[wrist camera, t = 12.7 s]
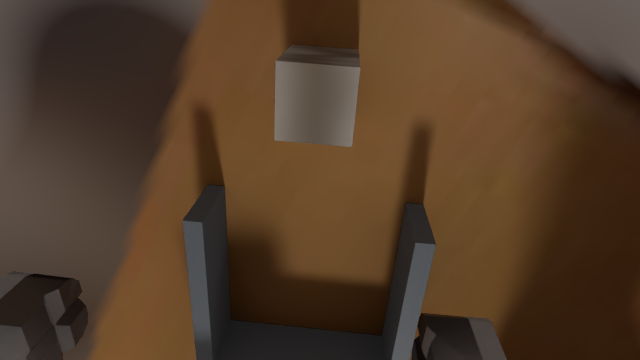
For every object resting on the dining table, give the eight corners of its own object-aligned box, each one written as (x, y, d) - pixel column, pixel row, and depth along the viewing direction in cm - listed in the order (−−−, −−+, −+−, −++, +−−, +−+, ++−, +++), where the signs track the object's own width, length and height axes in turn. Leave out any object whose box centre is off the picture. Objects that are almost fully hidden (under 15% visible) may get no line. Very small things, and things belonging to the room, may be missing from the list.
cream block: (358, 49, 30) (360, 67, 24) (352, 114, 32) (351, 146, 26) (291, 44, 30) (275, 60, 24) (289, 109, 32) (274, 140, 26)
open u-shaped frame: (423, 204, 35) (435, 244, 30) (394, 347, 43) (399, 399, 38) (207, 184, 36) (182, 220, 31) (217, 328, 44) (198, 377, 38)
